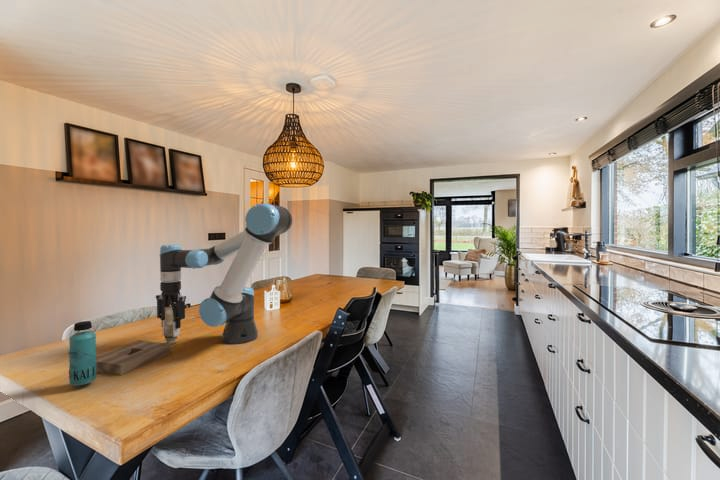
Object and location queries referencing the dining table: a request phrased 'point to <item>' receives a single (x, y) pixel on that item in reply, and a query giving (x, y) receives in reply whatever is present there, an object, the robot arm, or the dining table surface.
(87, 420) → the dining table surface
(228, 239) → the robot arm
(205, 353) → the dining table surface
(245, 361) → the dining table surface
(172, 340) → the peg
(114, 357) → the board
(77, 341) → the beverage bottle
